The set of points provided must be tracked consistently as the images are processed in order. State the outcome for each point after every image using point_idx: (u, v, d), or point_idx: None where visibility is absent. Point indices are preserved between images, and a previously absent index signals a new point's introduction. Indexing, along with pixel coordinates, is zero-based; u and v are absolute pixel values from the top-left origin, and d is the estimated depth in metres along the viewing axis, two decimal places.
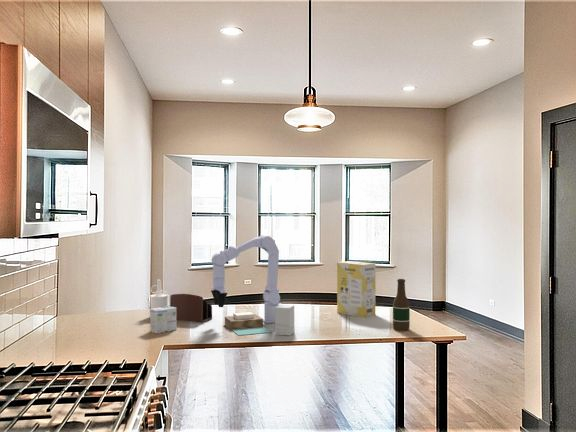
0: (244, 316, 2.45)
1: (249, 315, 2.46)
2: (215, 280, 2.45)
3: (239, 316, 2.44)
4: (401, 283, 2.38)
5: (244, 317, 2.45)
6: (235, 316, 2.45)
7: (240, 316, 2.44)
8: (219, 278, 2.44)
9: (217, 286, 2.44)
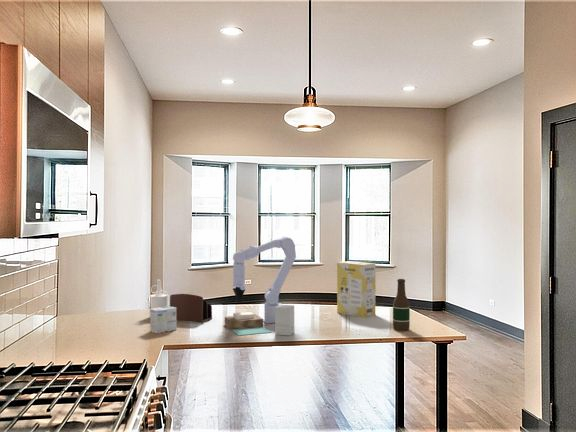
0: (244, 316, 2.45)
1: (249, 315, 2.46)
2: (235, 277, 2.53)
3: (239, 316, 2.44)
4: (401, 283, 2.38)
5: (244, 317, 2.45)
6: (235, 316, 2.45)
7: (240, 316, 2.44)
8: (239, 275, 2.52)
9: (237, 283, 2.52)
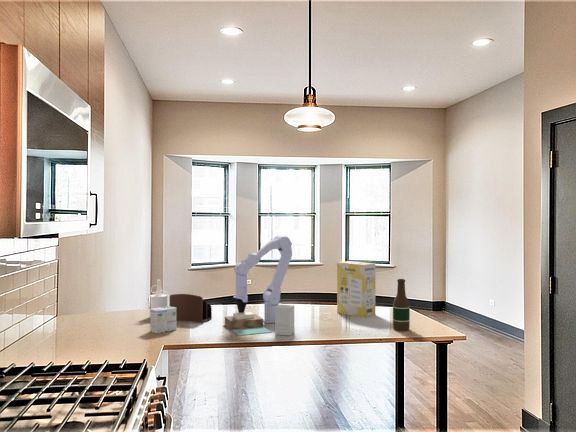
0: (244, 316, 2.45)
1: (249, 315, 2.46)
2: (238, 289, 2.49)
3: (239, 316, 2.44)
4: (401, 283, 2.38)
5: (244, 317, 2.45)
6: (235, 316, 2.45)
7: (240, 316, 2.44)
8: (242, 287, 2.49)
9: (240, 295, 2.49)
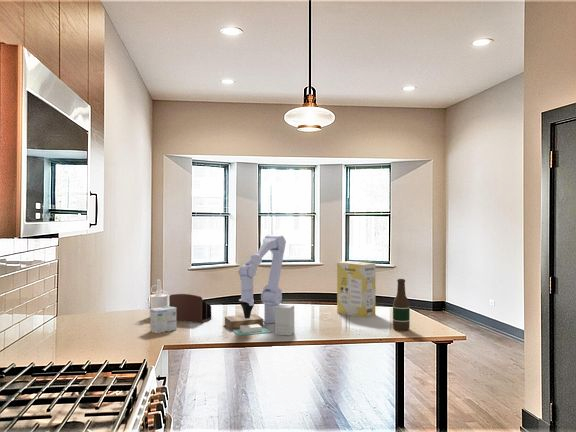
0: None
1: None
2: (244, 292, 2.40)
3: None
4: (401, 283, 2.38)
5: None
6: (241, 329, 2.36)
7: None
8: (248, 290, 2.40)
9: (246, 298, 2.40)
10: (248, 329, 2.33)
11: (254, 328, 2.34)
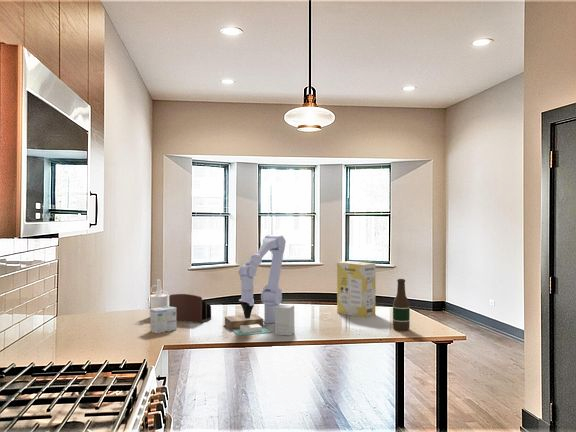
0: None
1: None
2: (244, 292, 2.40)
3: None
4: (401, 283, 2.38)
5: None
6: (241, 329, 2.36)
7: None
8: (248, 290, 2.39)
9: (246, 298, 2.39)
10: (248, 329, 2.33)
11: (254, 328, 2.34)
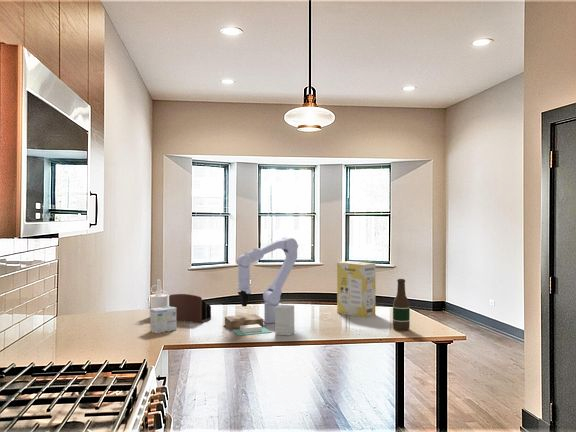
0: None
1: None
2: (241, 281, 2.49)
3: None
4: (401, 283, 2.38)
5: None
6: (241, 329, 2.36)
7: None
8: (245, 279, 2.49)
9: (243, 287, 2.49)
10: (248, 329, 2.33)
11: (254, 328, 2.34)
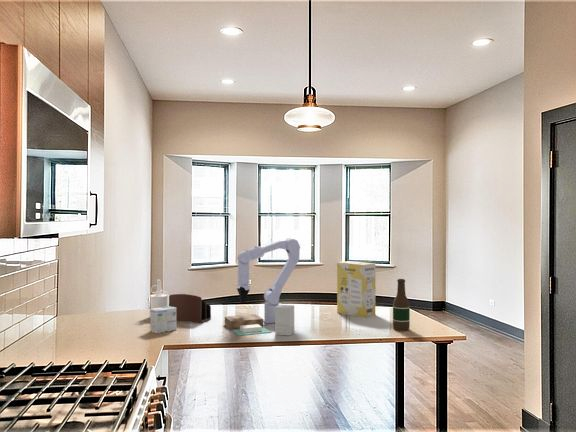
0: None
1: None
2: (240, 277, 2.51)
3: None
4: (401, 283, 2.38)
5: None
6: (241, 329, 2.36)
7: None
8: (244, 275, 2.51)
9: (242, 283, 2.51)
10: (248, 329, 2.33)
11: (254, 328, 2.34)
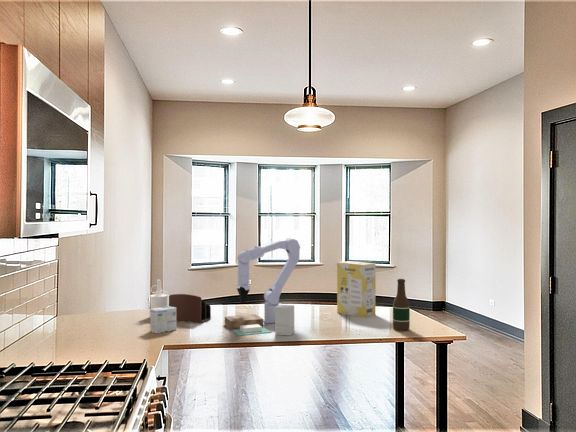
0: None
1: None
2: (240, 277, 2.51)
3: None
4: (401, 283, 2.38)
5: None
6: (241, 329, 2.36)
7: None
8: (244, 275, 2.51)
9: (242, 283, 2.51)
10: (248, 329, 2.33)
11: (254, 328, 2.34)
